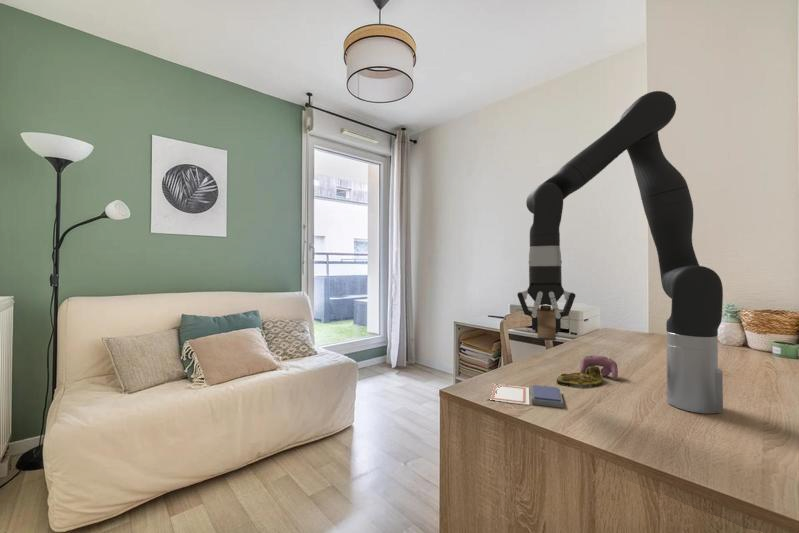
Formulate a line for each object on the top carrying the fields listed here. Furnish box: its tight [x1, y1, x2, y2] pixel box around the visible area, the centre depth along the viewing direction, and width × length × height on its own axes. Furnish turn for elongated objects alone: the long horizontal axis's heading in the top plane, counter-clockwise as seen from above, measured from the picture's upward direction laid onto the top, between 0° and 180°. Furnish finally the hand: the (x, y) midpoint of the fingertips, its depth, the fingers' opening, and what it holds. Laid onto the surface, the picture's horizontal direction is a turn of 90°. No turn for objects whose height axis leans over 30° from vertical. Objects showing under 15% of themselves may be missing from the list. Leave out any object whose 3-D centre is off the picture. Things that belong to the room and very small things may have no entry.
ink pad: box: [530, 384, 565, 409], centre depth 86 cm, size 7×10×2 cm
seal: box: [556, 366, 604, 389], centre depth 98 cm, size 9×5×15 cm
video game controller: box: [579, 355, 619, 381], centre depth 104 cm, size 10×5×7 cm, turn 56°
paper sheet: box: [489, 383, 530, 406], centre depth 89 cm, size 10×12×1 cm
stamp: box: [536, 304, 557, 341], centre depth 86 cm, size 4×6×8 cm, turn 160°
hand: (545, 332), depth 86 cm, fingers closed on stamp, 4 cm apart
